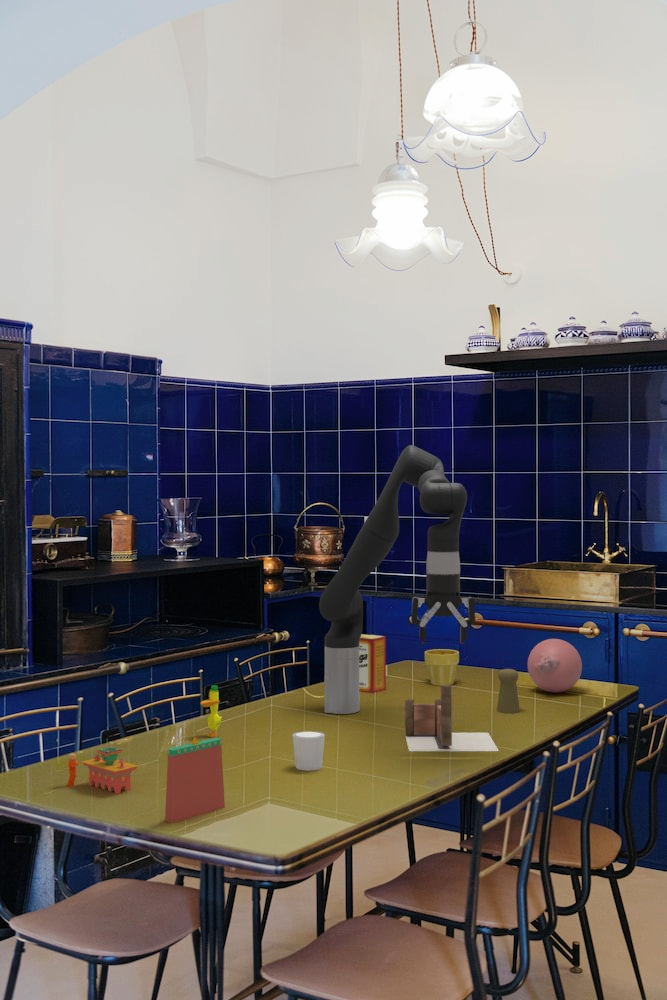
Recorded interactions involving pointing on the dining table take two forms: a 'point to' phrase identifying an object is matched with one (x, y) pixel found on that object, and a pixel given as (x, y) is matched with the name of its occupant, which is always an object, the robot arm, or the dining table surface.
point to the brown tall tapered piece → (508, 692)
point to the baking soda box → (372, 663)
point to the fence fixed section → (420, 718)
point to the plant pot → (442, 666)
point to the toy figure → (213, 710)
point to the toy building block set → (168, 777)
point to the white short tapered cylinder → (308, 750)
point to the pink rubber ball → (554, 665)
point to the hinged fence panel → (445, 716)
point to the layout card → (458, 742)
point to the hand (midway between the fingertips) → (442, 643)
